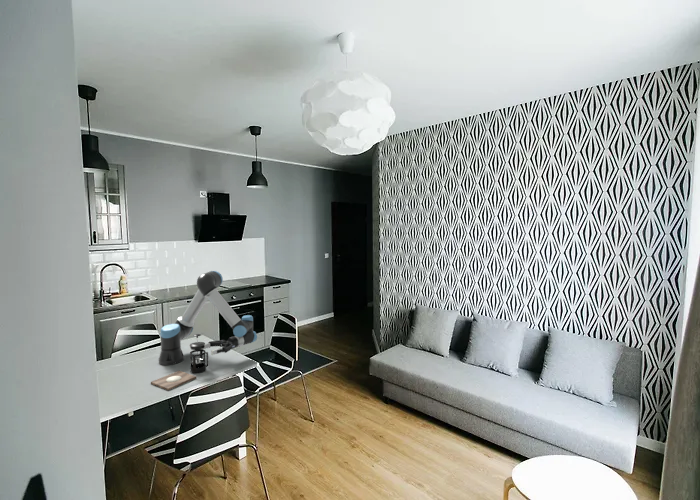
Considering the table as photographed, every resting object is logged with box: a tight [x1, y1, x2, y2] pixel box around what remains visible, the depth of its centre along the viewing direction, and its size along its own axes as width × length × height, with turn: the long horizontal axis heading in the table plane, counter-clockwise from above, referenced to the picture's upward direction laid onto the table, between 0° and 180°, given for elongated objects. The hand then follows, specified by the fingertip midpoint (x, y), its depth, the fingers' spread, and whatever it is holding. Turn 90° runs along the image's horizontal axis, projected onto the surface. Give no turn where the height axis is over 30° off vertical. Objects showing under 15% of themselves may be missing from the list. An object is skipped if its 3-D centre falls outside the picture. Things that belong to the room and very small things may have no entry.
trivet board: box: [150, 370, 197, 391], centre depth 210 cm, size 16×18×1 cm
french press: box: [189, 333, 209, 375], centre depth 224 cm, size 12×9×23 cm
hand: (205, 350), depth 227 cm, fingers open, 13 cm apart
